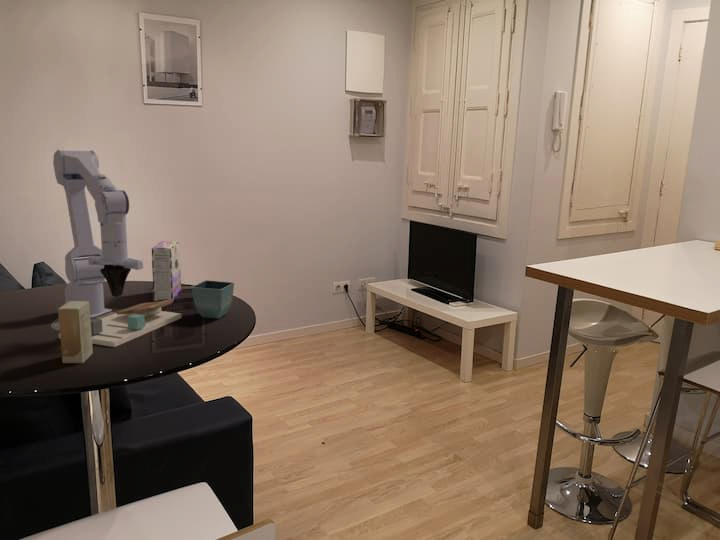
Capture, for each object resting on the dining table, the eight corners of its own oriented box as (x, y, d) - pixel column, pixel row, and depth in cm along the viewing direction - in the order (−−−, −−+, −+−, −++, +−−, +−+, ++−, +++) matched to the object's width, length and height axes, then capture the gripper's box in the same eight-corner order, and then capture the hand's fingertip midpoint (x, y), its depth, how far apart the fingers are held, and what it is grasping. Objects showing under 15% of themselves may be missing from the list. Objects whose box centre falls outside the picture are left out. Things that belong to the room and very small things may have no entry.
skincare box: (73, 353, 129) (69, 300, 126) (93, 353, 129) (90, 300, 126) (61, 364, 122) (56, 308, 120) (82, 363, 123) (78, 308, 120)
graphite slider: (84, 333, 138) (83, 321, 137) (93, 330, 140) (92, 318, 140) (94, 334, 137) (93, 322, 136) (102, 331, 139) (101, 319, 139)
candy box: (163, 290, 187) (161, 240, 184) (181, 290, 188) (180, 240, 185) (152, 301, 174) (150, 247, 170) (173, 301, 174) (171, 247, 171)
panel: (59, 338, 138) (58, 325, 137) (132, 311, 162) (131, 300, 162) (114, 347, 133) (113, 333, 133) (181, 317, 158) (181, 306, 157)
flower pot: (222, 321, 155) (221, 289, 154) (191, 319, 157) (190, 286, 155) (235, 313, 164) (234, 282, 162) (206, 310, 165) (205, 280, 164)
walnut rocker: (117, 314, 151) (116, 311, 151) (140, 306, 159) (139, 303, 159) (151, 310, 147) (151, 307, 147) (173, 302, 156) (172, 299, 156)
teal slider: (128, 328, 142) (127, 316, 141) (135, 325, 145) (135, 313, 144) (137, 329, 141) (137, 317, 141) (145, 326, 144) (144, 315, 143)
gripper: (77, 241, 139) (81, 296, 141) (127, 245, 134) (130, 302, 137) (98, 237, 145) (102, 289, 148) (147, 241, 141) (150, 295, 144)
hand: (117, 295), depth 143 cm, fingers closed
